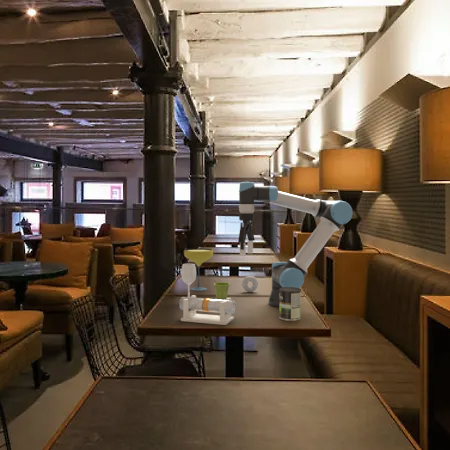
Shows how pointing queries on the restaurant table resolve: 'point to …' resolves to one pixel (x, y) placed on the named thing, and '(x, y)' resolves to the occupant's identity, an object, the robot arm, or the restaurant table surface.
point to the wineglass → (188, 275)
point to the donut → (247, 279)
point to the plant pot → (221, 290)
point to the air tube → (208, 305)
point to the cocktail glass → (198, 261)
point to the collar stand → (204, 318)
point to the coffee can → (289, 303)
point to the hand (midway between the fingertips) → (246, 254)
